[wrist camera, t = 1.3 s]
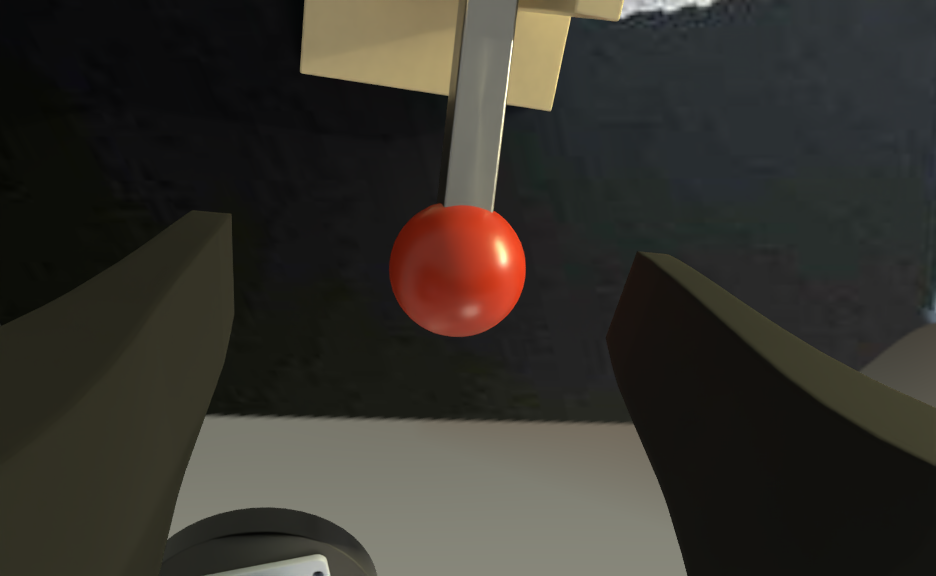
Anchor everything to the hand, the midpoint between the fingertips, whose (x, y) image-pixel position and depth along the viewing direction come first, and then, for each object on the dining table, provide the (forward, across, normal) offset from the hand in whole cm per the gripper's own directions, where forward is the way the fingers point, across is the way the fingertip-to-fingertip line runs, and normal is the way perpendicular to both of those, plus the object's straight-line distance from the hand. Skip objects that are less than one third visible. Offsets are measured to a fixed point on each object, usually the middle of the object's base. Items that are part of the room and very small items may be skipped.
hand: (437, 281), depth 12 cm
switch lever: (+5, -1, -2) cm, 6 cm away
